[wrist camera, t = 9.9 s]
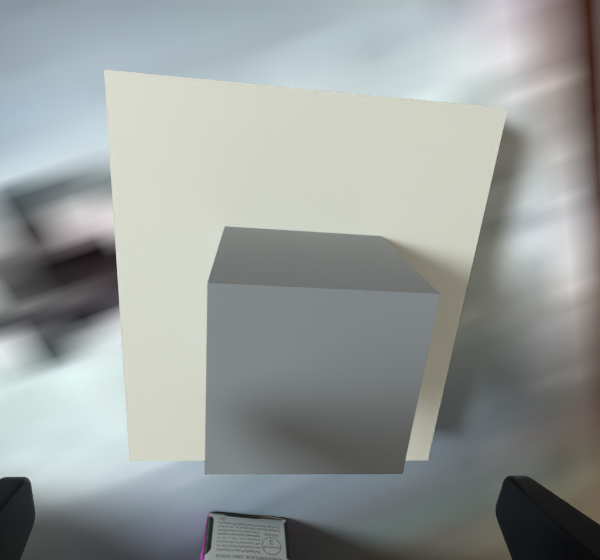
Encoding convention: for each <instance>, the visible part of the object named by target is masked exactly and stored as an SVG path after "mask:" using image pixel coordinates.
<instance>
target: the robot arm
mask: <svg viewBox="0 0 600 560" xmlns="http://www.w3.org/2000/svg"><path fill="white" fill-rule="evenodd" d="M496 517H497V520H498V523H499V526H500V528H501V531H502V534H503V536H504V539H505V542H506V544H507V547H508V550H509V552H510V555H511V557H512V560H600V525H599V524H598V523H596V522H595V521H593V520H592V519H590V518H589V517H587V516H586V515H584V514H583V513H582V512H580V511H579V510H577V509H576V508H574V507H573V506H571V505H570V504H568V503H567V502H565V501H564V500H562V499H561V498H559V497H558V496H557V495H555V494H554V493H552V492H551V491H549V490H548V489H546V488H545V487H543V486H542V485H540V484H539V483H537V482H536V481H535V480H533V479H532V478H530V477H528V476H507V477H506V478H505V479H504V481H503V485H502V488H501V491H500V494H499V497H498V500H497V504H496ZM34 520H35V507H34V500H33V494H32V487H31V482H30V480H29V479H28V478H26V477H4V478H2V479H0V560H20V559H21V556H22V554H23V551H24V548H25V546H26V543H27V540H28V538H29V535H30V533H31V530H32V527H33V524H34Z"/></svg>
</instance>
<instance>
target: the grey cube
mask: <svg viewBox="0 0 600 560" xmlns="http://www.w3.org/2000/svg"><path fill="white" fill-rule="evenodd" d="M439 298H440V293H439V292H438V291H437V290H436V289H435V288H434V287H433V286H432V285H431V284H430V283H429V282H428V281H426V280H425V279H424V278H423V277H422V276H421V275H420V274H419V273H418V272H417V271H416V270H415V269H414V268H413V267H412V266H411V265H410V264H409V263H408V262H407V261H406V260H405V259H404V258H403V257H402V256H401V255H399V254H398V253H397V252H396V251H395V250H394V249H393V248H392V247H391V246H390V245H389V244H388V243H387V242H386V241H385V240H384V239H383V238H382V237H381V236H373V235H357V234H341V233H325V232H309V231H293V230H277V229H261V228H245V227H229V226H225V227H224V230H223V233H222V237H221V240H220V243H219V246H218V250H217V253H216V256H215V260H214V263H213V266H212V269H211V273H210V276H209V279H208V283H207V346H206V418H205V474H403V469H404V464H405V460H406V455H407V450H408V445H409V441H410V436H411V431H412V426H413V422H414V417H415V412H416V407H417V403H418V398H419V393H420V388H421V384H422V379H423V374H424V369H425V365H426V360H427V355H428V351H429V346H430V341H431V336H432V332H433V327H434V322H435V317H436V313H437V308H438V303H439Z"/></svg>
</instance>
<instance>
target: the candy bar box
mask: <svg viewBox="0 0 600 560" xmlns="http://www.w3.org/2000/svg"><path fill="white" fill-rule="evenodd" d="M199 560H290V558H289V545H288V532H287V522H286V520H285V519H282V518H277V517H271V516H247V515H235V514H225V513H209V514H208V517H207V522H206V527H205V533H204V538H203V543H202V549H201V554H200V559H199Z"/></svg>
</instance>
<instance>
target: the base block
mask: <svg viewBox="0 0 600 560" xmlns="http://www.w3.org/2000/svg"><path fill="white" fill-rule="evenodd" d="M104 74H105V90H106V105H107V120H108V136H109V151H110V166H111V182H112V197H113V212H114V228H115V243H116V258H117V274H118V289H119V304H120V320H121V335H122V350H123V366H124V381H125V396H126V412H127V427H128V443H129V458H130V461H205V418H206V346H207V283H208V279H209V276H210V273H211V269H212V266H213V263H214V260H215V256H216V253H217V250H218V246H219V243H220V240H221V237H222V233H223V230H224V227H225V226H229V227H245V228H261V229H277V230H293V231H309V232H325V233H341V234H357V235H373V236H381V237H382V238H383V239H384V240H385V241H386V242H387V243H388V244H389V245H390V246H391V247H392V248H393V249H394V250H395V251H396V252H397V253H398V254H399V255H401V256H402V257H403V258H404V259H405V260H406V261H407V262H408V263H409V264H410V265H411V266H412V267H413V268H414V269H415V270H416V271H417V272H418V273H419V274H420V275H421V276H422V277H423V278H424V279H425V280H426V281H428V282H429V283H430V284H431V285H432V286H433V287H434V288H435V289H436V290H437V291H438V292H439V293H440V298H439V303H438V308H437V313H436V317H435V322H434V327H433V332H432V336H431V341H430V346H429V351H428V355H427V360H426V365H425V369H424V374H423V379H422V384H421V388H420V393H419V398H418V403H417V407H416V412H415V417H414V422H413V426H412V431H411V436H410V441H409V445H408V450H407V455H406V460H428V457H429V452H430V448H431V443H432V439H433V435H434V430H435V426H436V422H437V417H438V413H439V408H440V404H441V400H442V395H443V391H444V387H445V382H446V378H447V373H448V369H449V365H450V360H451V356H452V352H453V347H454V343H455V338H456V334H457V330H458V325H459V321H460V317H461V312H462V308H463V303H464V299H465V295H466V290H467V286H468V281H469V277H470V273H471V268H472V264H473V260H474V255H475V251H476V246H477V242H478V238H479V233H480V229H481V225H482V220H483V216H484V211H485V207H486V203H487V198H488V194H489V190H490V185H491V181H492V176H493V172H494V168H495V163H496V159H497V154H498V150H499V146H500V141H501V137H502V133H503V128H504V124H505V119H506V115H507V111H508V108H498V107H487V106H477V105H467V104H456V103H446V102H435V101H425V100H414V99H404V98H393V97H383V96H373V95H362V94H352V93H341V92H331V91H320V90H310V89H299V88H289V87H279V86H268V85H258V84H247V83H237V82H226V81H216V80H206V79H195V78H185V77H174V76H164V75H153V74H143V73H132V72H122V71H112V70H104Z"/></svg>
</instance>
